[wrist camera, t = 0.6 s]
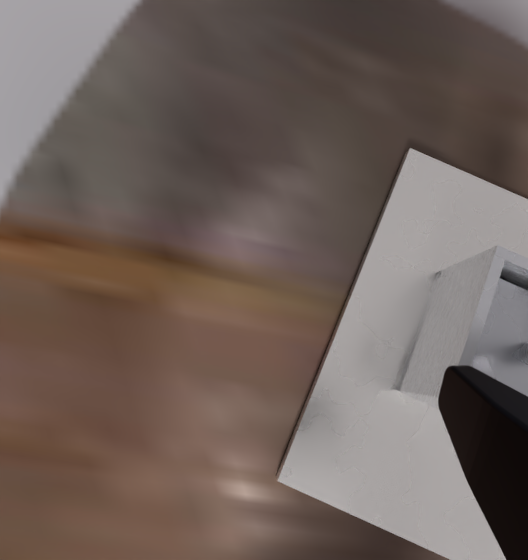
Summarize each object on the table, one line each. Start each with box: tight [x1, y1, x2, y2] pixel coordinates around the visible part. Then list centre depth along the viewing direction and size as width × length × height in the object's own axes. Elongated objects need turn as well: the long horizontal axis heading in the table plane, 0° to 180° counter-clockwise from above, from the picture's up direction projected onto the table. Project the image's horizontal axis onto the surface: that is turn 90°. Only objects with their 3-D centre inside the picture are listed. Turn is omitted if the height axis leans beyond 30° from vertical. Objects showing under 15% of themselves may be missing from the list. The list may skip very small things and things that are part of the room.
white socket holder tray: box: [276, 148, 528, 560], centre depth 20 cm, size 20×15×6 cm
